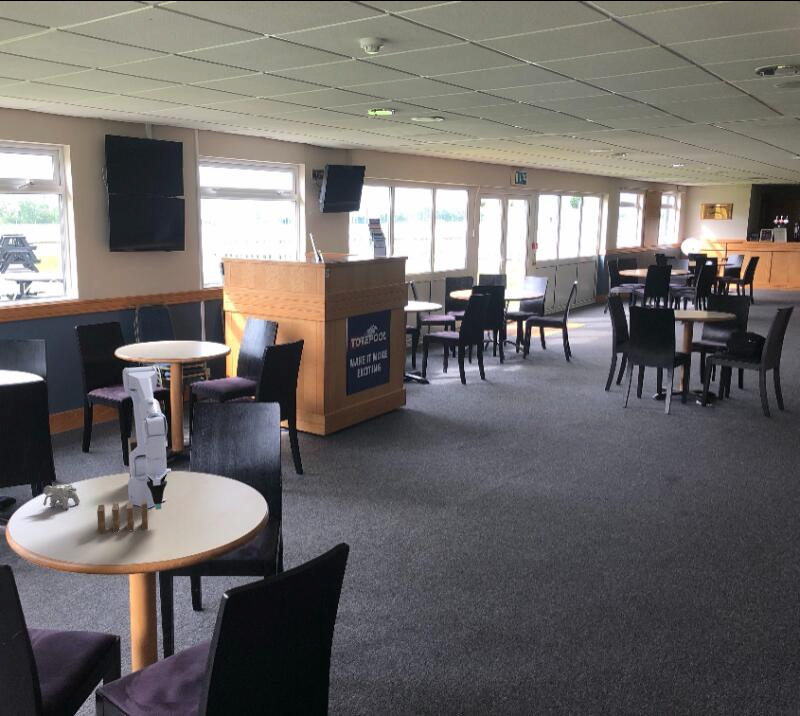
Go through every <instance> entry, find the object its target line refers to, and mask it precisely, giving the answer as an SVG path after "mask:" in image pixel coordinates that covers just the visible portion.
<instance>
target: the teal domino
mask: <svg viewBox="0 0 800 716" xmlns="http://www.w3.org/2000/svg"><path fill="white" fill-rule="evenodd" d="M154 508H155V510H162V504H155V506H154Z"/></svg>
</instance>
